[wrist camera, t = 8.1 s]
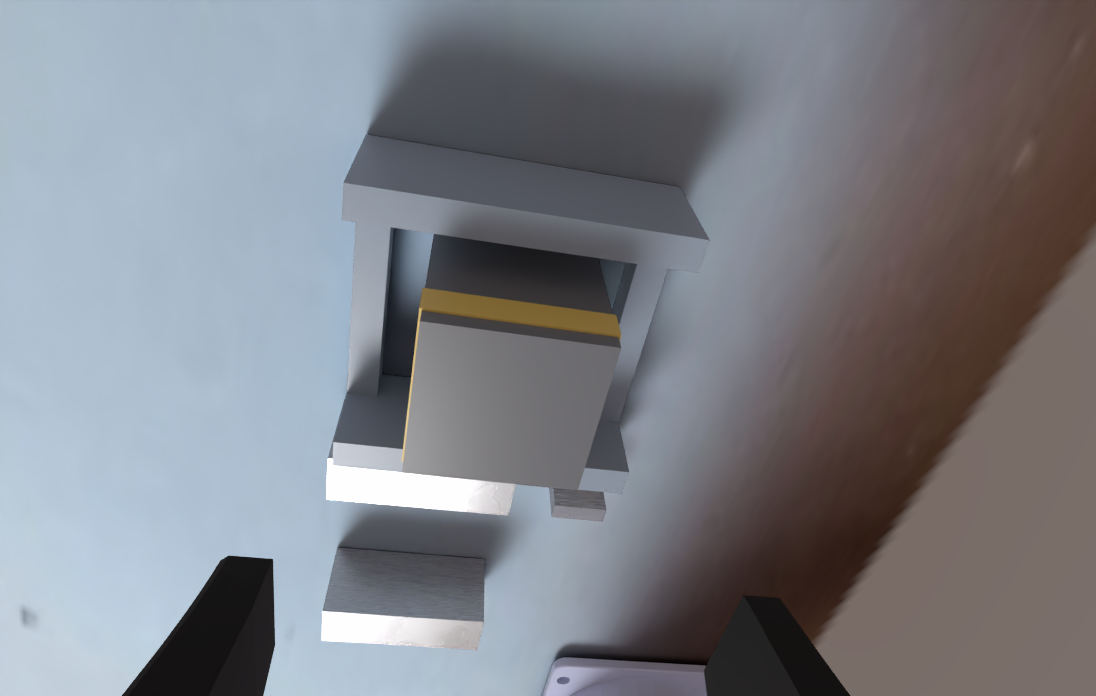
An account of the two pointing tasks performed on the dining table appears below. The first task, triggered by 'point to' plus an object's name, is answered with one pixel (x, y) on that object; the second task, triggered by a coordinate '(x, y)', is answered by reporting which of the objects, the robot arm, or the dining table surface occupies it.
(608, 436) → the holder
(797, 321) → the dining table surface
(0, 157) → the dining table surface
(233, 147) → the dining table surface
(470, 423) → the block
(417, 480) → the brushed metal block
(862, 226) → the dining table surface
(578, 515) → the clip
